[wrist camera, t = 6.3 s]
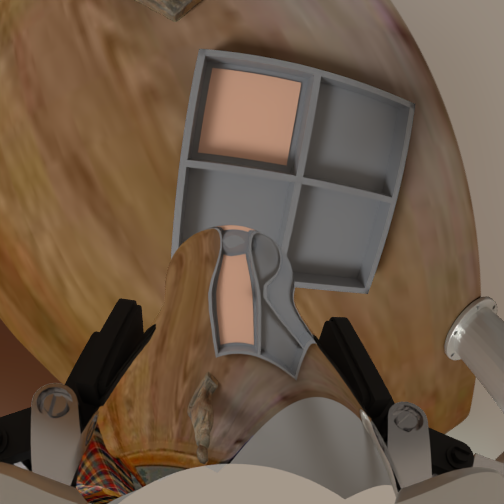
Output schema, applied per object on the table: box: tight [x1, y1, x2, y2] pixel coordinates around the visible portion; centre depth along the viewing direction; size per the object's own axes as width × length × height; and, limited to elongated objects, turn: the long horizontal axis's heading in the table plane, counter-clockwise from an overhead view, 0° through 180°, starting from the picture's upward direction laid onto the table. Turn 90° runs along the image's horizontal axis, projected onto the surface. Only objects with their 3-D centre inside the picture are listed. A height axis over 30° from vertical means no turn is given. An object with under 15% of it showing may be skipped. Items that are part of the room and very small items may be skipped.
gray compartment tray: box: [171, 49, 415, 294], centre depth 25 cm, size 20×20×3 cm
